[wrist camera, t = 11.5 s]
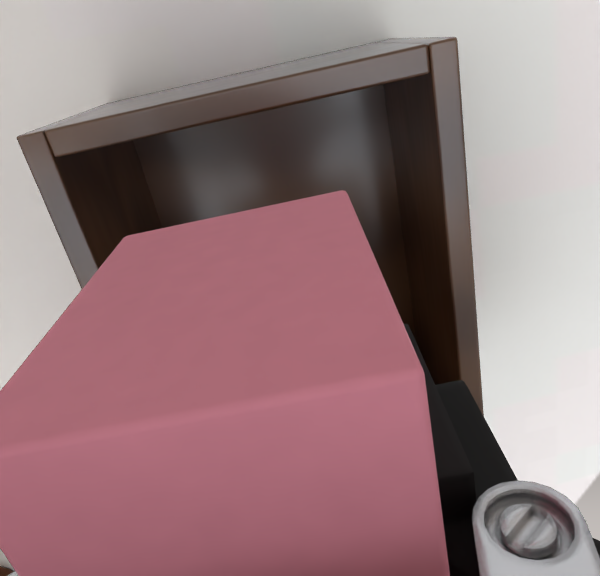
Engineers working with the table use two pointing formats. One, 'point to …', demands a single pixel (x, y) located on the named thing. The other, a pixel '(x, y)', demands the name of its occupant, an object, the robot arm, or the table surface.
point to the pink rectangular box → (225, 412)
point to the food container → (5, 571)
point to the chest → (290, 171)
